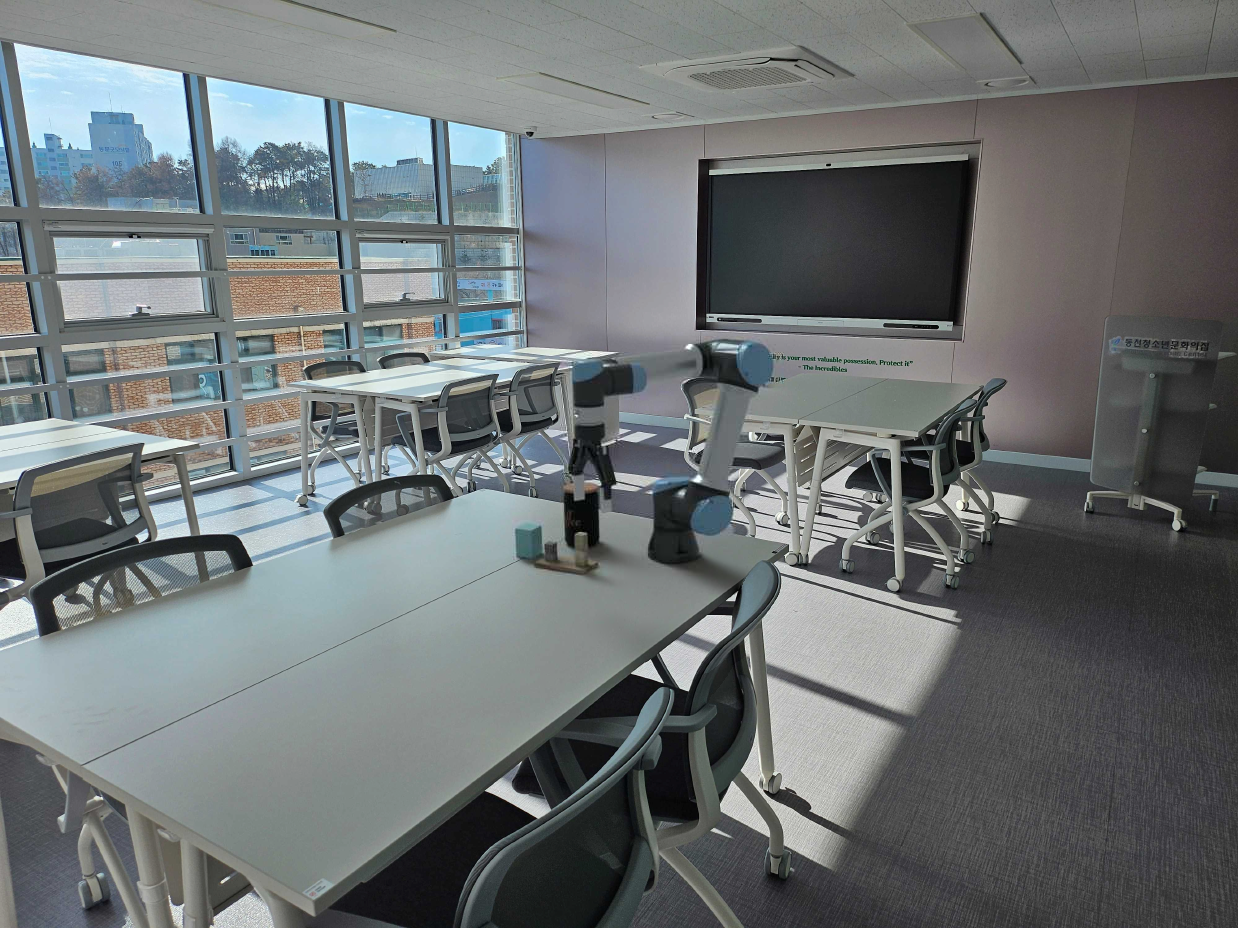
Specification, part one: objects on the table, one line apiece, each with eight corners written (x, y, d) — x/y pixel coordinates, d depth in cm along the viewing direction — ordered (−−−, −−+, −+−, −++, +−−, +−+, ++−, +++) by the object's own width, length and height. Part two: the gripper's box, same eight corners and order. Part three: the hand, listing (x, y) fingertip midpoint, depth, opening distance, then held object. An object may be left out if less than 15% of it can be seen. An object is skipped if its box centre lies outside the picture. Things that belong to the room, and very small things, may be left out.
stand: (549, 557, 243) (548, 524, 241) (597, 565, 236) (597, 531, 234) (535, 566, 237) (533, 532, 234) (584, 574, 229) (583, 539, 227)
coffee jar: (559, 540, 259) (558, 484, 255) (591, 535, 263) (590, 480, 259) (572, 550, 250) (570, 492, 246) (605, 545, 254) (603, 488, 250)
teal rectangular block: (526, 550, 250) (525, 523, 248) (542, 552, 248) (541, 525, 246) (516, 556, 245) (515, 528, 243) (532, 558, 243) (531, 530, 241)
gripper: (552, 417, 213) (556, 497, 218) (602, 432, 192) (604, 520, 197) (578, 414, 217) (581, 492, 222) (629, 428, 196) (631, 514, 201)
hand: (592, 505), depth 210 cm, fingers open, 13 cm apart
